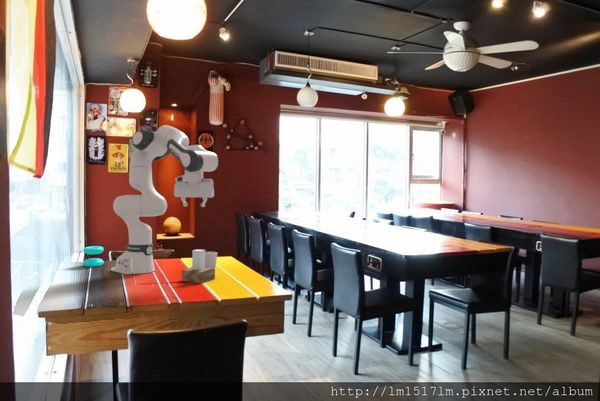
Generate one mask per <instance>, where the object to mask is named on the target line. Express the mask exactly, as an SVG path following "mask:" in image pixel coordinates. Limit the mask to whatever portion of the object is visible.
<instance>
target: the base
mask: <svg viewBox="0 0 600 401" xmlns="http://www.w3.org/2000/svg"><path fill="white" fill-rule="evenodd" d="M215 279H216V267H214V268H209V267H205V269H203V270H192V267H191V266H190V267H188V268H184V269H181V281H183V282H189V283H198V284H203V283H206V282H209V281H211V280H215Z"/></svg>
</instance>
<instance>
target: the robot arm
mask: <svg viewBox="0 0 600 401" xmlns="http://www.w3.org/2000/svg"><path fill="white" fill-rule="evenodd" d="M131 144H132V146H133V147H134V148H135V150H133V151H132V152H131V155H130V158H129V169H128V170H129V171H128V172H129V175H128V178H129V181H128V183H129V184H130V187H132V188H133V189H135V190H137V191H139V192H140V193H141V194H126V195H125V194H124V195H120V196H117V197H116V198H115V199H114V200H113V202H112V203H113V204H112V208H113V211H114V213H115V214H116V215H117V216H118V217H120V218H121V219H122V220H123V221H124V223H125V225H126V227H127V231H128V244H125V245H124V247H125V248H126V250H125V252H123V253H122V254H121V255H120V256H118V257H117V258H116V261H115V266H113V267H111V268H110V271H112V272H115V273H120V274H125V275H136V274H138V275H139V274H147V273H152V272H155V271H156V269H155V268H156V267H155V263H154V256H153V251H154V248H153V247H154V245H153V244H154V243H153V228H152V227H151V226H150V225H149V224H147V223H145V222H142V221H141V220H140V217H157V216H162V215H164V214H165V213H166V211H167V208H168V202H167V200H166V198H165V197H164V196H163V195H162V194H160V193H159V192H158V191H157V190H156V189H155V186H154V183H153V174H152V173H153V169H152V168H153V167H152V163H153V160H155V161H159V160H161V159H164V158H167V157H168V156H170V154H171V155H172V156H173V157H174V158H175V159H176V160H178V161H179V163H180V164H181V165H182V168H184V174H183V175H180V176H177V177H175V183H174V188H173V195H174V197H175V198H180V200H181V202H182V203H183V207H185V208H186V207H188V202H187V201H186V199H187V198H202V200H203V201H202V203H201V202H200V207H201V208H205V207H206V202H208V198H209V199H211V198H214V197H215V189H214V188H215V187H214V186H215V185H214V184H215V183H214V180H213V179H212V178H204V172H209V173H210V172H214V171H216V170H217V169H218V167H219V157H218V155H217V154H216V153H215V152H212V151H209V150H207V149H205V148H204V147H203V146H202V145H201V144H191V145H189V144H190V139H189V137H188V136H187V135H186V134H185V133H184V132H183V131H181V130H180V129H178V128H176V127H174V126H171V125H169V124H164V125H160V126H159V127H158V128H157V130H156V131H153V129H149V128H148V129H139V130H136V131H135V132H134V133H133V135H132V138H131Z"/></svg>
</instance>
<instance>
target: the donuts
mask: <svg viewBox="0 0 600 401" xmlns="http://www.w3.org/2000/svg"><path fill="white" fill-rule="evenodd" d="M103 252H104V247H103V246H99V245H92V246H86V247H84V248H83V253H84V254H86V255H99V254H102V253H103ZM82 264H83V266H84V267H86V268H95V267H101V266H102V265H104V260H103V259H102V258H99V257H93V258H91V257H90V258H87V259H84V261H83V263H82Z"/></svg>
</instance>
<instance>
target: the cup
mask: <svg viewBox="0 0 600 401" xmlns="http://www.w3.org/2000/svg"><path fill="white" fill-rule="evenodd" d="M217 260H218V252H216V251H205V267H209V268H216V266H217Z"/></svg>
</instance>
